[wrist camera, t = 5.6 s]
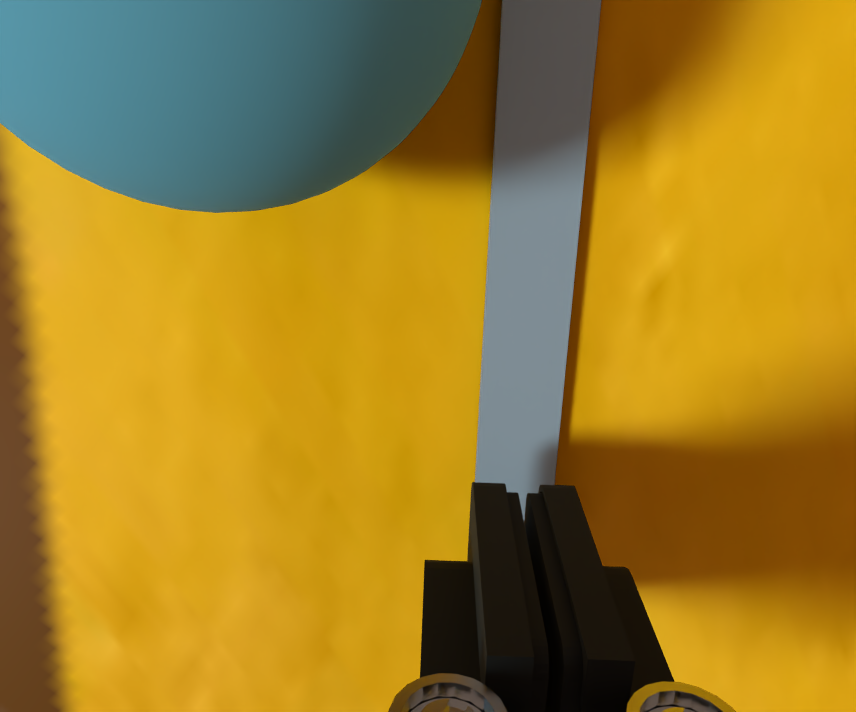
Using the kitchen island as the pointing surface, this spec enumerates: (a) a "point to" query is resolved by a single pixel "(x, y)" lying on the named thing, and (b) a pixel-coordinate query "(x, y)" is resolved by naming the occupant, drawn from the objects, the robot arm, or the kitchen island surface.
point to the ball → (224, 91)
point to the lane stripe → (533, 235)
